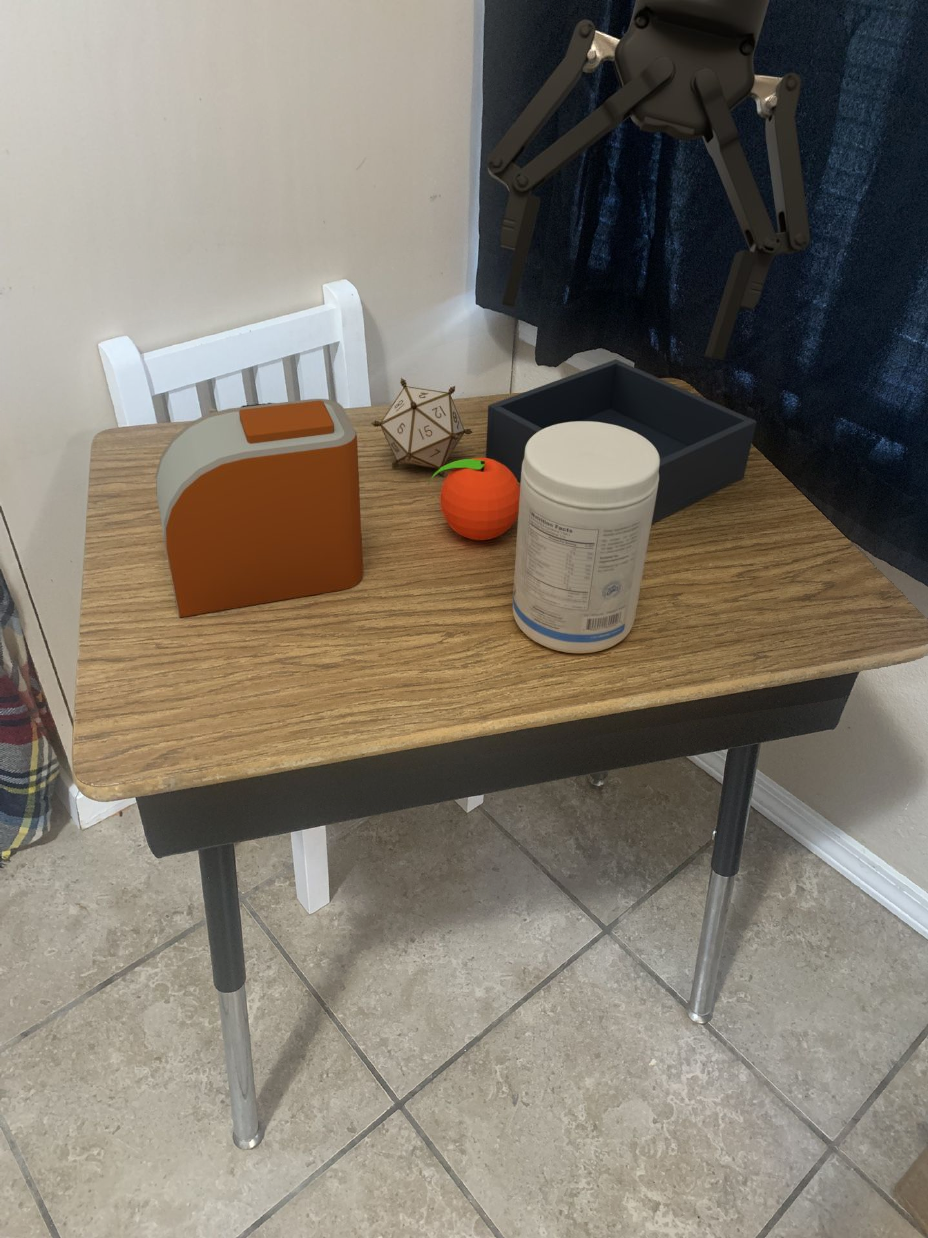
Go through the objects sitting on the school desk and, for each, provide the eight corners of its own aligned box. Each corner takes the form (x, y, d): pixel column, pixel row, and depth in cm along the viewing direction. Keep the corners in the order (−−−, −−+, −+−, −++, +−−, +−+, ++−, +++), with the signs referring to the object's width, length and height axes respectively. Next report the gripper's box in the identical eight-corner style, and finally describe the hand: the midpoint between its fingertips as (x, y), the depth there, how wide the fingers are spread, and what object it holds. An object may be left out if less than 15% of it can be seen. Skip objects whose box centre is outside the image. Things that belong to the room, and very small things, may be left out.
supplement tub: (540, 570, 81) (555, 406, 72) (650, 604, 78) (681, 436, 68) (490, 635, 74) (499, 463, 65) (608, 675, 71) (636, 500, 62)
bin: (744, 477, 94) (757, 420, 90) (620, 540, 85) (629, 480, 81) (609, 412, 104) (615, 358, 100) (485, 461, 95) (487, 405, 91)
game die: (404, 494, 97) (362, 399, 95) (483, 459, 97) (442, 363, 95) (401, 496, 88) (355, 392, 87) (488, 458, 88) (443, 353, 86)
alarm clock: (344, 530, 85) (336, 384, 76) (368, 586, 78) (362, 433, 70) (168, 557, 81) (139, 406, 72) (179, 618, 74) (148, 460, 66)
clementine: (421, 551, 83) (421, 477, 78) (432, 508, 88) (433, 437, 84) (516, 559, 82) (521, 485, 78) (521, 515, 87) (526, 444, 83)
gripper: (897, 33, 60) (784, 377, 66) (505, -68, 60) (428, 286, 66) (947, -8, 53) (815, 381, 59) (503, -122, 53) (416, 280, 59)
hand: (610, 332), depth 63 cm, fingers open, 13 cm apart
